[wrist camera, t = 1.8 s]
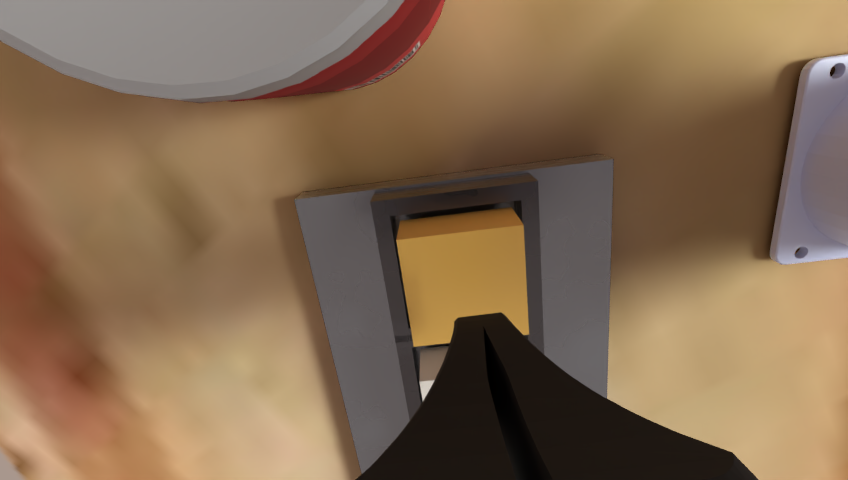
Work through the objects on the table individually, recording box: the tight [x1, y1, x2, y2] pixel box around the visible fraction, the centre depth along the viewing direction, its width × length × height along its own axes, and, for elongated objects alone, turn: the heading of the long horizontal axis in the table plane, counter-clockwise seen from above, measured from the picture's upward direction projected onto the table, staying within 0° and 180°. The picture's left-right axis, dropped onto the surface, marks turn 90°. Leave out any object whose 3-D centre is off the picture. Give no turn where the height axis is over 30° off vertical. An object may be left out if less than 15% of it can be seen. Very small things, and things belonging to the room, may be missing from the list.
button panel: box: [294, 154, 614, 474], centre depth 19 cm, size 12×17×3 cm
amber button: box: [396, 207, 529, 347], centre depth 15 cm, size 4×4×2 cm
